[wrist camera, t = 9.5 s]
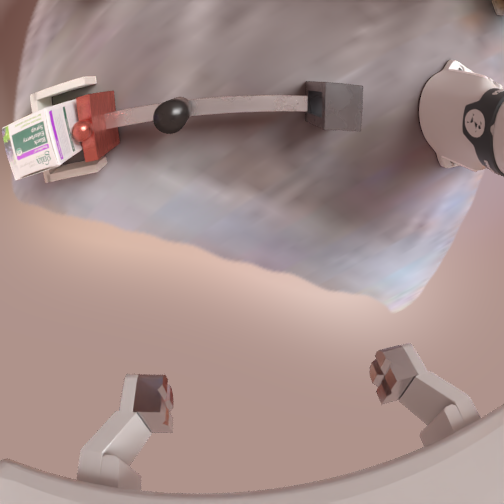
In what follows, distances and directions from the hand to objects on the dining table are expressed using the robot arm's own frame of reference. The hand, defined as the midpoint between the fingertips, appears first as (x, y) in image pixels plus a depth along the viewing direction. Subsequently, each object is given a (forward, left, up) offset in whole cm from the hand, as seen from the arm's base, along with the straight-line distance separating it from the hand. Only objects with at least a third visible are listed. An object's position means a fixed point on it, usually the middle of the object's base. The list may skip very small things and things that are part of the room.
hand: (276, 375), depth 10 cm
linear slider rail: (+3, -7, -31) cm, 32 cm away
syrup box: (+18, -8, -32) cm, 38 cm away
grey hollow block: (-13, -7, -32) cm, 35 cm away
